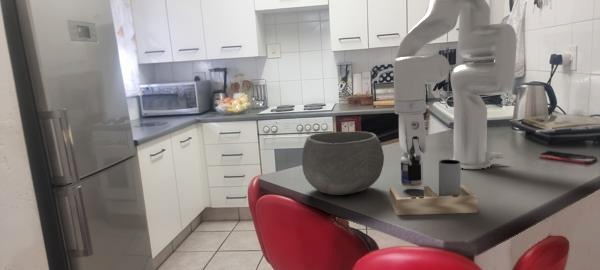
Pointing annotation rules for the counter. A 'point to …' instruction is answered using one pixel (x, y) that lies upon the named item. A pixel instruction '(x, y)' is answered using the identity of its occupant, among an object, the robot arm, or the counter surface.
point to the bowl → (342, 161)
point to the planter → (449, 177)
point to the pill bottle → (404, 173)
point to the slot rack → (434, 203)
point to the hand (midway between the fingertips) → (411, 176)
